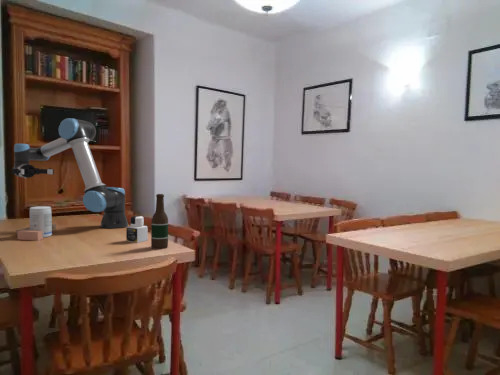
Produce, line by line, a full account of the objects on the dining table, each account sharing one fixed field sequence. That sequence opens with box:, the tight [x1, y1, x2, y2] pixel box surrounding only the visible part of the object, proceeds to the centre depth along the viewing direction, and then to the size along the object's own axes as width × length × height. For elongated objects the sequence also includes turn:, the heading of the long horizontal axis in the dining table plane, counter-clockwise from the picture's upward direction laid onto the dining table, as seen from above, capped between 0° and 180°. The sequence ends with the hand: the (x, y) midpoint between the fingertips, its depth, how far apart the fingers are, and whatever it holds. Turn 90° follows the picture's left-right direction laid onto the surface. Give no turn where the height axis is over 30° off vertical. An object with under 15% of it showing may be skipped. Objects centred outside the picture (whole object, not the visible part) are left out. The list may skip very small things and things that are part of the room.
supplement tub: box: [29, 205, 53, 238], centre depth 183 cm, size 10×10×15 cm
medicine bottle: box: [125, 215, 149, 244], centre depth 177 cm, size 7×7×12 cm
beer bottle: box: [150, 193, 169, 250], centre depth 164 cm, size 8×8×24 cm
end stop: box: [16, 230, 43, 241], centre depth 176 cm, size 11×3×4 cm, turn 80°
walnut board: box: [15, 223, 57, 237], centre depth 193 cm, size 6×21×3 cm, turn 170°
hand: (38, 171), depth 194 cm, fingers open, 13 cm apart
